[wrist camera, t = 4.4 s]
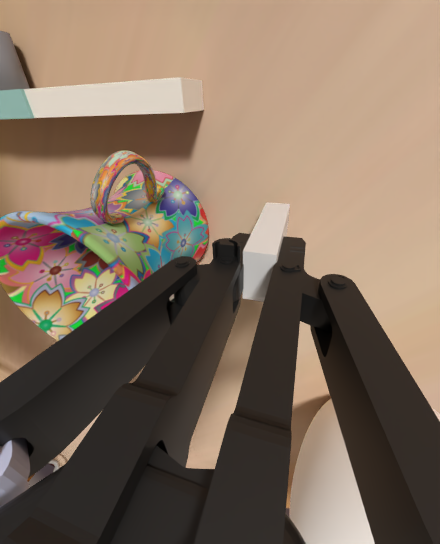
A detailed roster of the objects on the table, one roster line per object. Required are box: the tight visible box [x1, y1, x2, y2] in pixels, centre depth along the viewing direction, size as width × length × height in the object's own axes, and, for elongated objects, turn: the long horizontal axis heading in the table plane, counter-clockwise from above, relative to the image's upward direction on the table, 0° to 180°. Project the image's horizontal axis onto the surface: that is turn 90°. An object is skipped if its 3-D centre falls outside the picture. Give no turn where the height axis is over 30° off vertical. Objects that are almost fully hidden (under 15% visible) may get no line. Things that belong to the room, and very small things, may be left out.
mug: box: [0, 150, 209, 341], centre depth 16 cm, size 12×9×11 cm
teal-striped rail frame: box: [0, 31, 204, 300], centre depth 22 cm, size 22×28×3 cm
